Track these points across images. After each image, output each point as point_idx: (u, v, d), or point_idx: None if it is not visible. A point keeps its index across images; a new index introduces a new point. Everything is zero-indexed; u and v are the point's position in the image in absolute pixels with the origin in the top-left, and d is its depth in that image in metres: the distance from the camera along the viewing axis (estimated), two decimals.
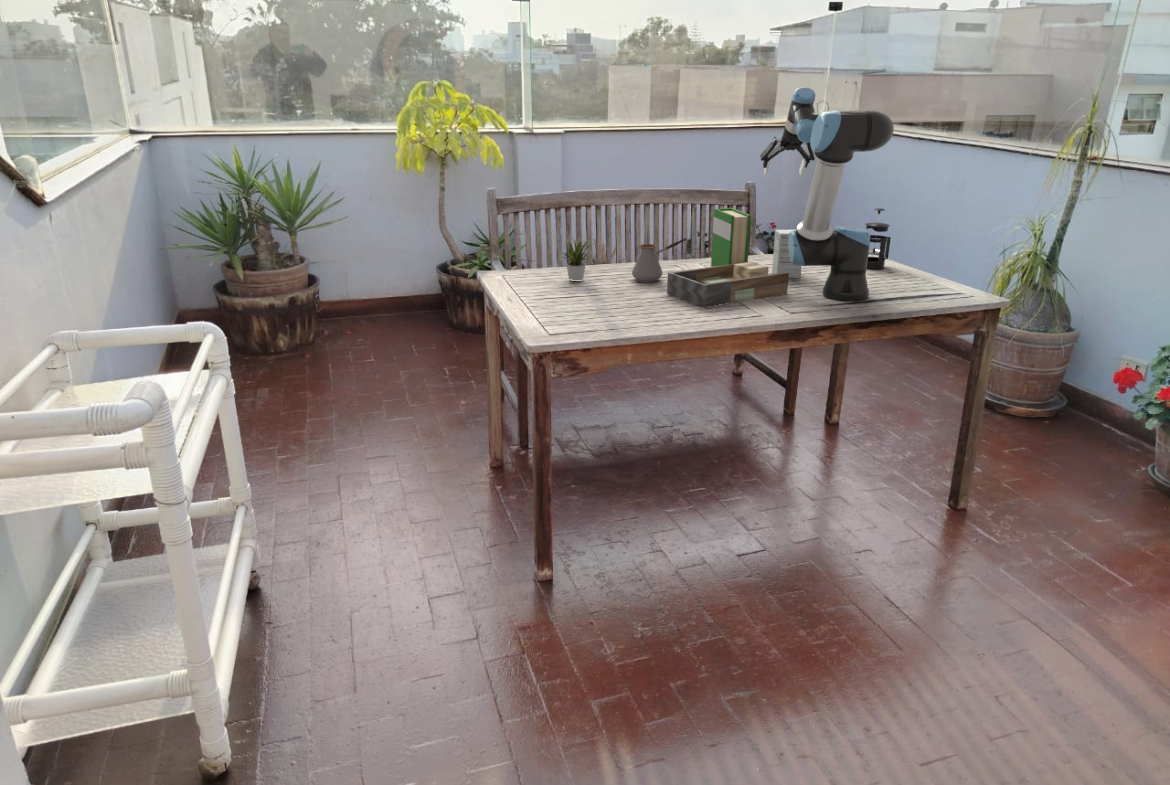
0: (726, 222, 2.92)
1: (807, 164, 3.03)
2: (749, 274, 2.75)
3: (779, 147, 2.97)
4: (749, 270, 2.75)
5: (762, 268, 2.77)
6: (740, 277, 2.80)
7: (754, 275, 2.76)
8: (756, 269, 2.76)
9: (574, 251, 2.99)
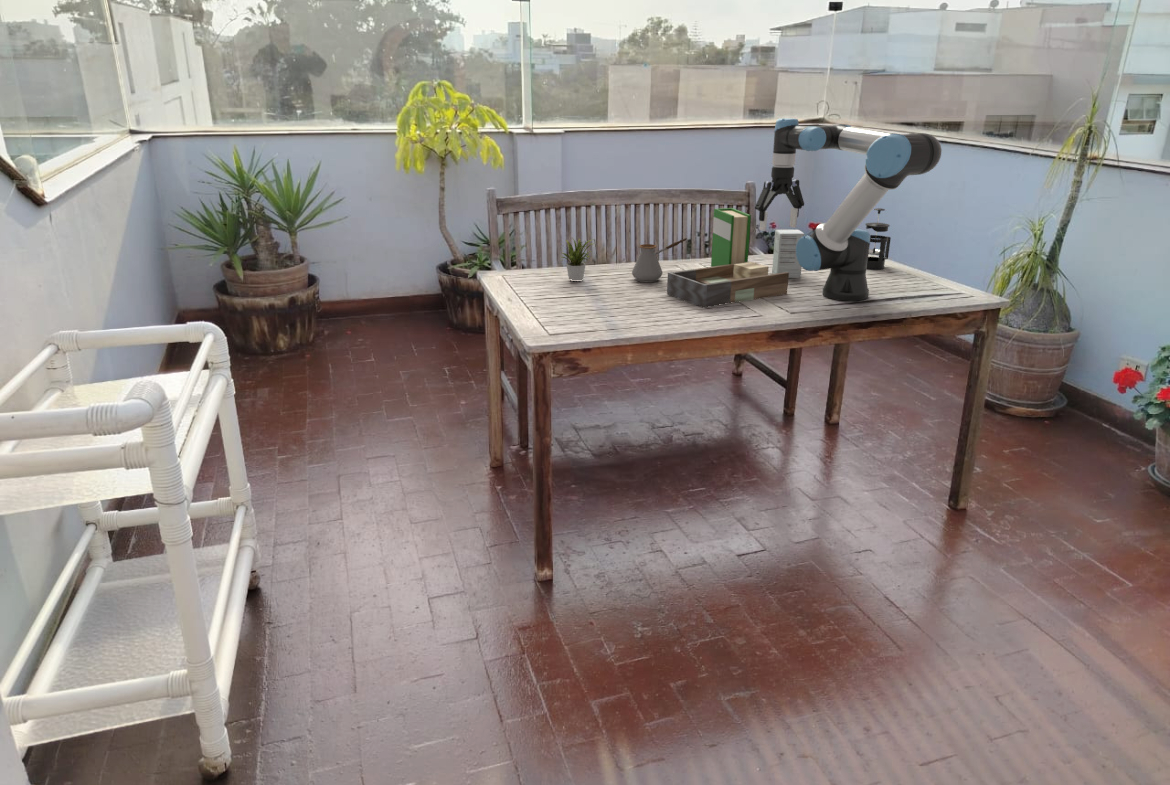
0: (726, 222, 2.92)
1: (798, 213, 2.82)
2: (749, 274, 2.75)
3: (772, 192, 2.74)
4: (749, 270, 2.75)
5: (762, 268, 2.77)
6: (740, 277, 2.80)
7: (754, 275, 2.76)
8: (756, 269, 2.76)
9: (574, 251, 2.99)
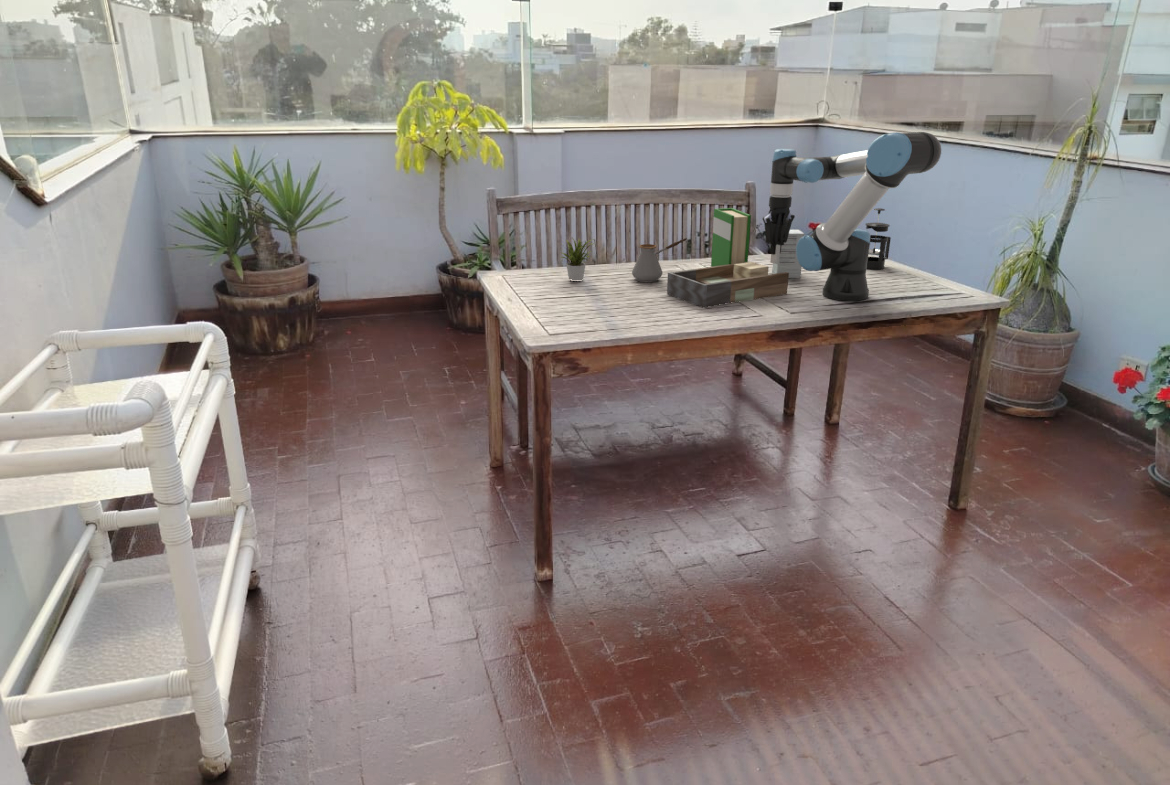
0: (726, 222, 2.92)
1: (780, 249, 2.84)
2: (749, 274, 2.75)
3: (774, 224, 2.79)
4: (749, 270, 2.75)
5: (762, 268, 2.77)
6: (740, 277, 2.80)
7: (754, 275, 2.76)
8: (756, 269, 2.76)
9: (574, 251, 2.99)
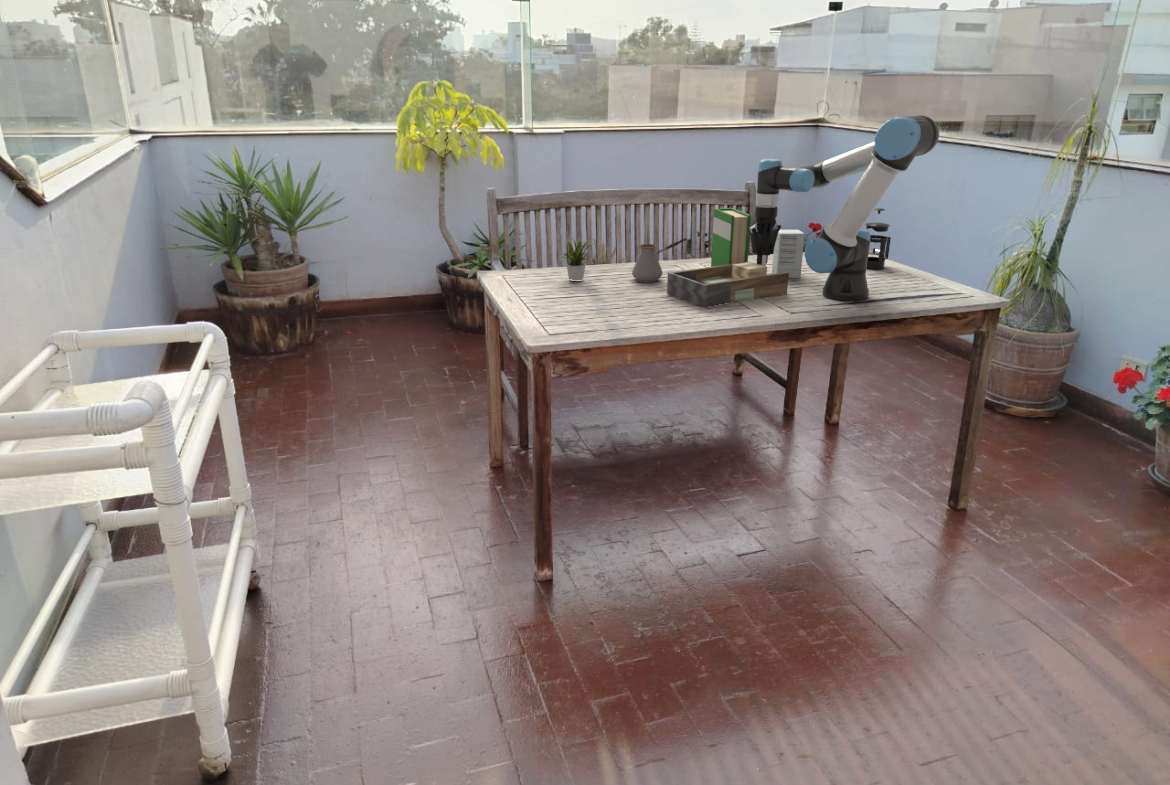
0: (726, 222, 2.92)
1: (767, 259, 2.82)
2: (748, 274, 2.75)
3: (760, 235, 2.78)
4: (748, 270, 2.75)
5: (761, 268, 2.77)
6: (739, 277, 2.80)
7: (752, 275, 2.76)
8: (755, 269, 2.75)
9: (574, 251, 2.99)
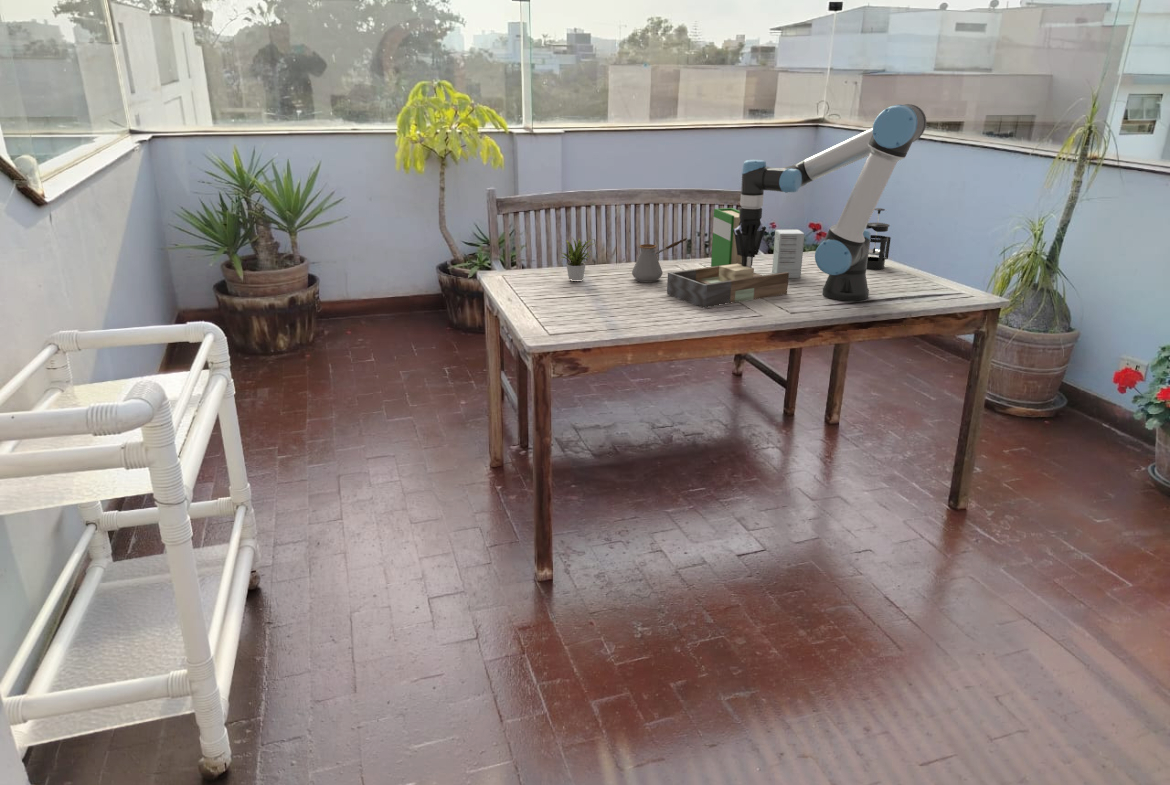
0: (726, 222, 2.92)
1: (752, 261, 2.79)
2: (734, 276, 2.73)
3: (744, 236, 2.75)
4: (734, 272, 2.72)
5: (747, 270, 2.74)
6: (725, 279, 2.77)
7: (739, 277, 2.73)
8: (741, 271, 2.73)
9: (574, 251, 2.99)
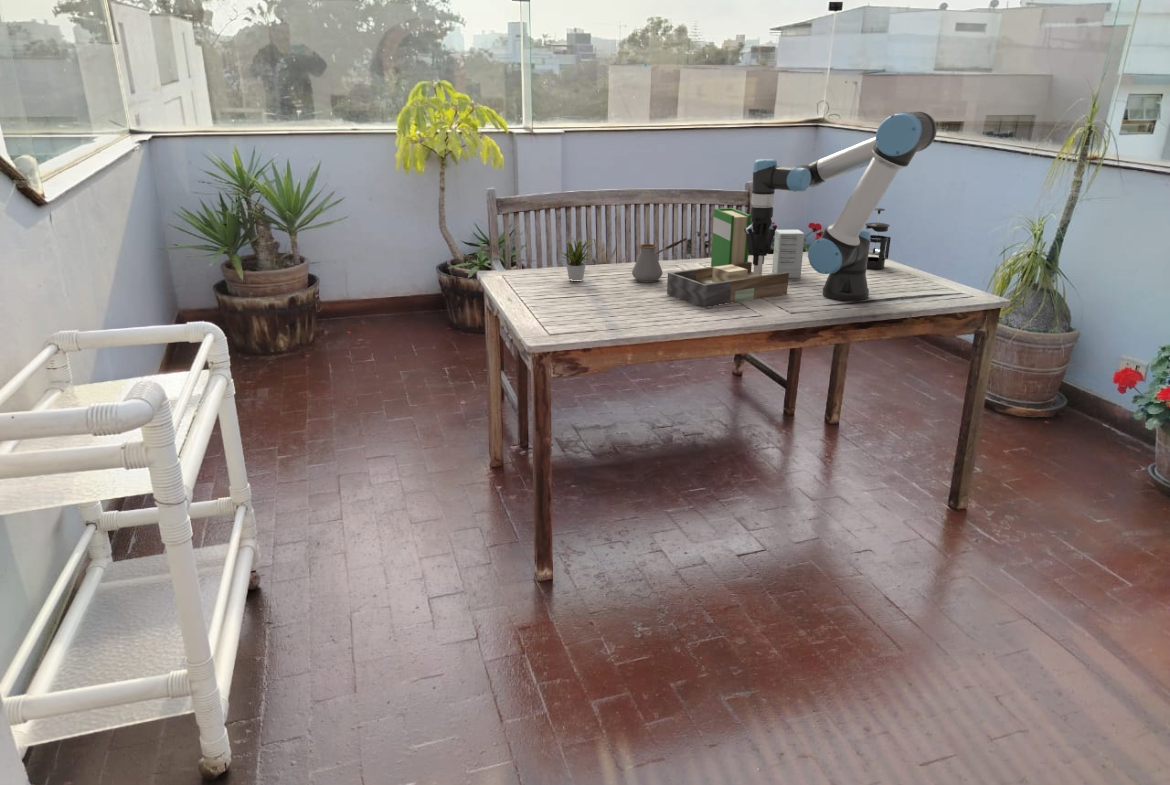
0: (726, 222, 2.92)
1: (763, 260, 2.81)
2: (728, 277, 2.71)
3: (756, 235, 2.76)
4: (728, 273, 2.71)
5: (741, 271, 2.73)
6: (719, 280, 2.76)
7: (733, 278, 2.72)
8: (735, 272, 2.72)
9: (574, 251, 2.99)
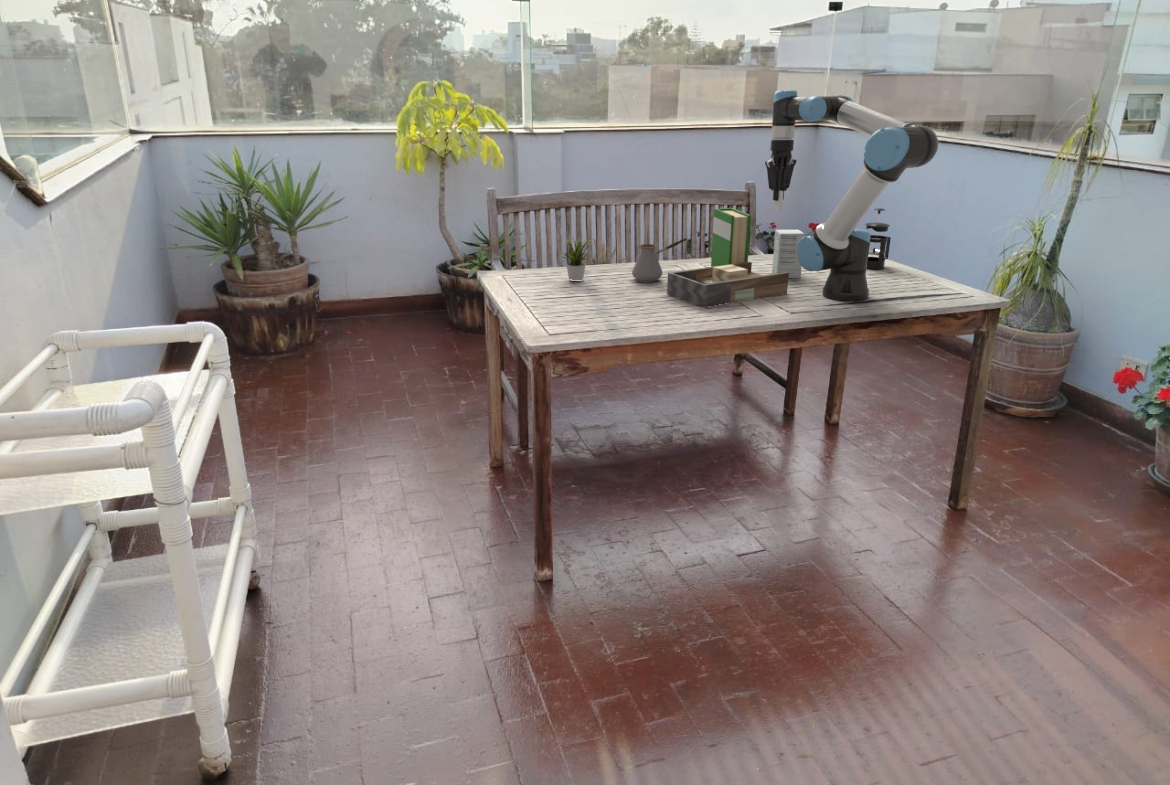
0: (726, 222, 2.92)
1: (783, 195, 2.77)
2: (728, 277, 2.71)
3: (776, 169, 2.72)
4: (728, 273, 2.71)
5: (741, 271, 2.73)
6: (719, 280, 2.76)
7: (733, 278, 2.72)
8: (735, 272, 2.72)
9: (574, 251, 2.99)
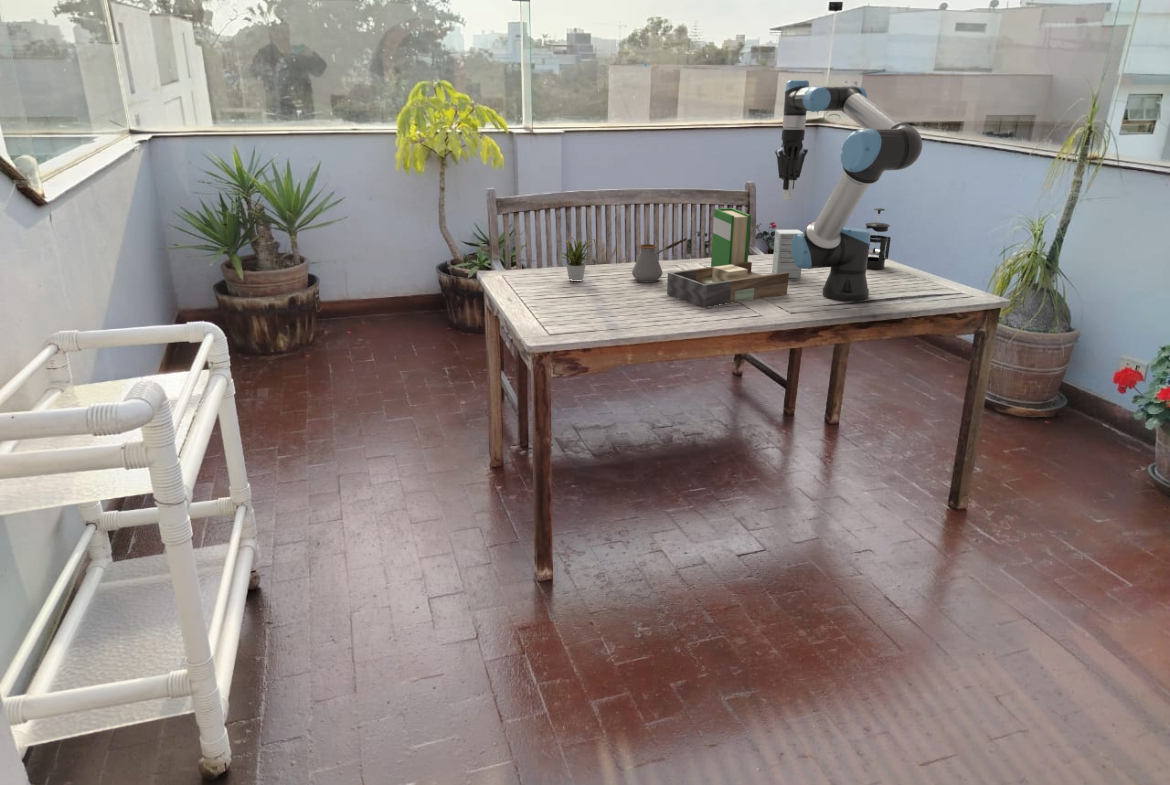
0: (726, 222, 2.92)
1: (793, 185, 2.79)
2: (728, 277, 2.71)
3: (787, 159, 2.75)
4: (728, 273, 2.71)
5: (741, 271, 2.73)
6: (719, 280, 2.76)
7: (733, 278, 2.72)
8: (735, 272, 2.72)
9: (574, 251, 2.99)
